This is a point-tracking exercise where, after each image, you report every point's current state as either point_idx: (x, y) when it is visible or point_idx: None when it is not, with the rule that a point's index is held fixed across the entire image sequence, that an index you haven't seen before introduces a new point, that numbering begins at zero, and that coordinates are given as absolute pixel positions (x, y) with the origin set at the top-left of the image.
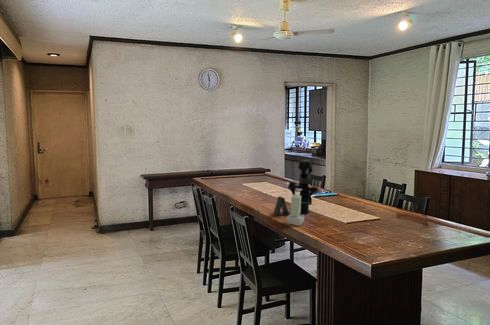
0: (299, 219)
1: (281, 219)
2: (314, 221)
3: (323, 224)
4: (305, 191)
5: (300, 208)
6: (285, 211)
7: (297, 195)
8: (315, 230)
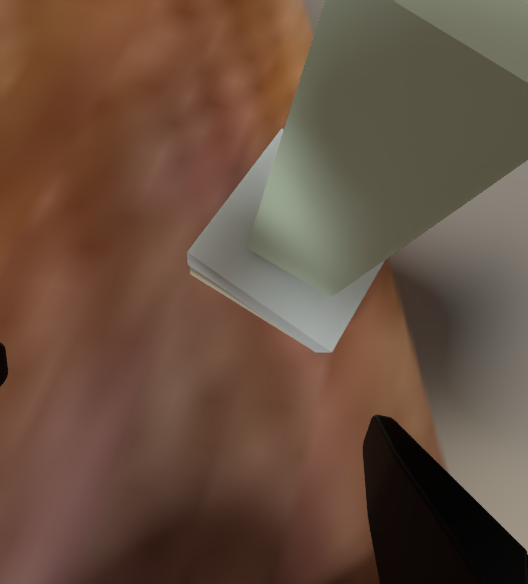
0: None
1: (378, 414)
2: (65, 278)
3: (23, 149)
4: None
5: (260, 205)
6: None
7: (468, 10)
8: (191, 9)
